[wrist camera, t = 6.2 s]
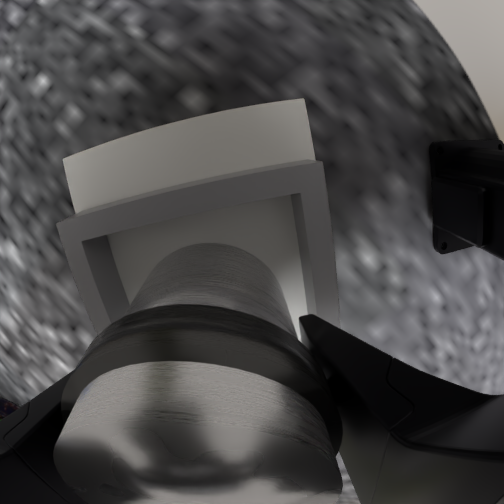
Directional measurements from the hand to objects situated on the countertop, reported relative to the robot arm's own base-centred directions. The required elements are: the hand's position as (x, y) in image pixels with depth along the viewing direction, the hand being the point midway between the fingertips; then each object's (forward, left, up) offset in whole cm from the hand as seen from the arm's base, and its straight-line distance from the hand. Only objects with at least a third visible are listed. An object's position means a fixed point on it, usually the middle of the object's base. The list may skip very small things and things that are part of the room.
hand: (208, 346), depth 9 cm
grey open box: (0, 0, -8) cm, 8 cm away
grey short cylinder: (0, 0, -2) cm, 2 cm away
